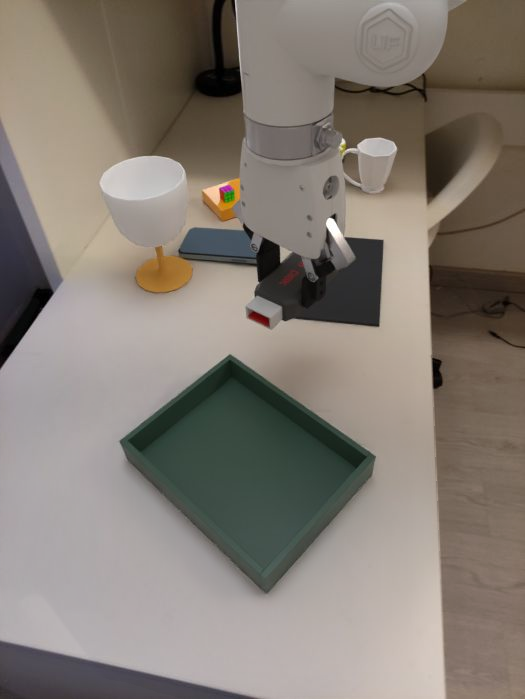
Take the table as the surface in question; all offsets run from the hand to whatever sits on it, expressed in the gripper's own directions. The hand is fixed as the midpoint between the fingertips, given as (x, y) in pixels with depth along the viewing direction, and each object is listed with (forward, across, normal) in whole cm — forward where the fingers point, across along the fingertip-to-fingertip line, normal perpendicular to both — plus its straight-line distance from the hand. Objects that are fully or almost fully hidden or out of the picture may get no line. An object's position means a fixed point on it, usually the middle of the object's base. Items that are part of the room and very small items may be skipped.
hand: (290, 287), depth 59 cm
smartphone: (+15, +26, -14) cm, 33 cm away
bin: (+15, -5, +14) cm, 21 cm away
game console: (+15, +37, -47) cm, 62 cm away
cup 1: (+15, +29, -3) cm, 33 cm away
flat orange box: (+15, +34, -24) cm, 45 cm away
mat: (+15, +8, -20) cm, 26 cm away
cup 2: (+15, +19, -44) cm, 50 cm away
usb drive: (+1, 0, 0) cm, 1 cm away
